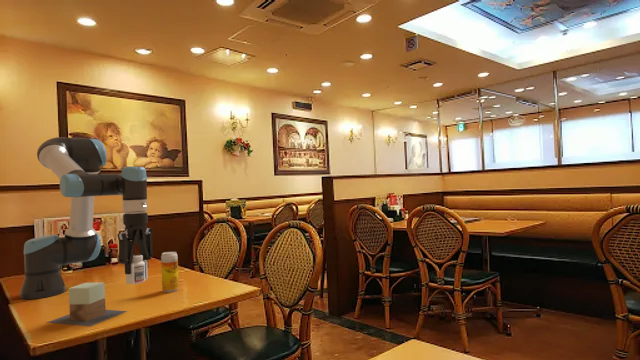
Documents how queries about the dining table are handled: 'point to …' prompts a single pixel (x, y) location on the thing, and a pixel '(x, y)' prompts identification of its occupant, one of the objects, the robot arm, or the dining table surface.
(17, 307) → the dining table surface
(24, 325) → the dining table surface
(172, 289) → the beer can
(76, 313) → the block lower
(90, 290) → the block upper
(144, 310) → the dining table surface
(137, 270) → the pill bottle
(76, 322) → the mat
